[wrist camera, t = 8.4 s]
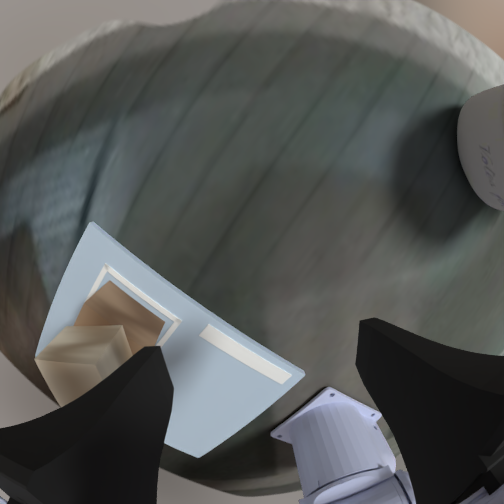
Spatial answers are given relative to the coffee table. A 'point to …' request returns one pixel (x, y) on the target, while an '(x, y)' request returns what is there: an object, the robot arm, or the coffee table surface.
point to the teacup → (483, 144)
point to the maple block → (82, 359)
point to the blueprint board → (179, 345)
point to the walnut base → (121, 316)
